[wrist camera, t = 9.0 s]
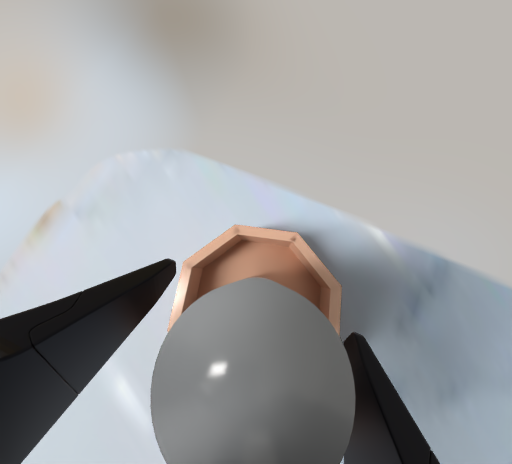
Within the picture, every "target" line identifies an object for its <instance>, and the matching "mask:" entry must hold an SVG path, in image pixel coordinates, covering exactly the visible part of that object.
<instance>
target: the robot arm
mask: <svg viewBox="0 0 512 464" xmlns="http://www.w3.org/2000/svg"><path fill="white" fill-rule="evenodd" d="M175 274H176V262H175V261H174V260H171V259H164V260H162V261H159V262H157V263H154V264H151V265H149V266H146V267H144V268H141V269H138V270H136V271H133V272H130V273H128V274H125V275H123V276H120V277H117V278H115V279H112V280H110V281H107V282H104V283H102V284H99V285H97V286H94V287H91V288H89V289H86V290H84V291H81V292H78V293H76V294H73V295H70V296H68V297H65V298H62V299H59V300H57V301H54V302H51V303H48V304H45V305H42V306H39V307H36V308H33V309H30V310H27V311H24V312H21V313H17V314H14V315H11V316H8V317H5V318H2V319H0V464H21V463H22V461H23V460H24V459H25V458H26V457H27V456H28V454H29V453H30V452H31V451H32V450H33V448H34V447H35V446H36V445H37V444H38V442H39V441H40V440H41V439H42V438H43V437H44V435H45V434H46V433H47V432H48V431H49V429H50V428H51V427H52V426H53V425H54V424H55V422H56V421H57V420H58V419H59V418H60V416H61V415H62V414H63V413H64V412H65V411H66V409H67V408H68V407H69V406H70V405H71V403H72V402H73V401H74V400H75V399H76V397H77V396H78V394H80V393H81V391H82V390H83V389H84V388H85V387H86V385H87V384H88V383H89V382H90V381H91V380H92V378H93V377H94V376H95V375H96V374H97V372H98V371H99V370H100V369H101V368H102V366H103V365H104V364H105V363H106V362H107V361H108V359H109V358H110V357H111V356H112V355H113V353H114V352H115V351H116V350H117V349H118V348H119V346H120V345H121V344H122V343H123V342H124V340H125V339H126V338H127V337H128V336H129V334H130V333H131V332H132V331H133V330H134V329H135V327H136V326H137V325H138V324H139V323H140V321H141V320H142V319H143V318H144V317H145V316H146V314H147V313H148V312H149V311H150V310H151V308H152V307H153V306H154V305H155V304H156V302H157V301H158V300H159V298H160V297H161V295H162V294H163V292H164V291H165V290H166V288H167V287H168V285H169V284H170V282H171V281H172V279H173V278H174V276H175ZM343 345H344V347H345V350H346V352H347V355H348V358H349V361H350V364H351V368H352V373H353V378H354V386H355V416H354V422H353V429H352V433H351V436H350V440H349V444H348V446H347V449H346V451H345V454H344V464H440V463H439V461H438V460H437V458H436V456H435V455H434V453H433V451H431V449H430V446H429V445H428V443H427V441H426V440H425V438H424V436H423V435H422V433H421V431H420V430H419V428H418V426H417V425H416V423H415V421H414V420H413V418H412V416H411V415H410V413H409V411H408V410H407V408H406V406H405V405H404V403H403V401H402V400H401V398H400V396H399V395H398V393H397V391H396V390H395V388H394V386H393V385H392V383H391V381H390V379H389V378H388V376H387V374H386V373H385V371H384V369H383V368H382V366H381V364H380V363H379V361H378V359H377V358H376V356H375V354H374V353H373V351H372V349H371V348H370V346H369V344H368V343H367V341H366V339H365V338H364V337H363V336H362V335H360V334H358V333H355V332H353V333H351V334H350V335H349V337H348V338H347V339H346V340H345V341H344V344H343Z"/></svg>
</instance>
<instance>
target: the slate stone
mask: <svg viewBox="0 0 512 464" xmlns="http://www.w3.org/2000/svg"><path fill="white" fill-rule="evenodd" d="M151 414H152V423H153V427H154V432H155V436H156V439H157V442H158V445H159V448H160V451H161V453H162V455H163V457H164V459H165V461H166V463H167V464H340V462H341V460H342V458H343V456H344V454H345V451H346V449H347V446H348V444H349V440H350V436H351V433H352V429H353V422H354V416H355V386H354V378H353V373H352V368H351V364H350V361H349V358H348V355H347V352H346V350H345V347H344V345H343V343H342V341H341V338H340V337H339V335H338V333H337V332H336V330H335V328H334V327H333V325H332V324H331V323H330V321H329V320H328V319H327V317H326V316H325V315H324V314H323V313H322V312H321V311H320V310H319V309H318V308H317V307H316V306H315V305H314V304H313V303H311V302H310V301H309V300H308V299H306V298H305V297H303V296H302V295H300V294H298V293H297V292H295V291H293V290H291V289H289V288H287V287H285V286H283V285H281V284H279V283H277V282H274V281H272V280H270V279H268V278H266V277H262V276H252V277H248V278H245V279H242V280H239V281H236V282H233V283H230V284H227V285H224V286H222V287H219V288H217V289H214V290H212V291H210V292H209V293H207V294H205V295H203V296H202V297H200V298H199V299H198V300H196V301H195V302H194V303H192V304H191V305H190V306H189V307H188V308H187V309H186V310H185V311H184V312H183V313H182V314H181V316H180V317H179V318H178V319H177V320H176V322H175V323H174V324H173V326H172V328H171V329H170V331H169V332H168V334H167V336H166V338H165V340H164V342H163V344H162V346H161V348H160V351H159V354H158V357H157V359H156V363H155V367H154V371H153V376H152V384H151Z"/></svg>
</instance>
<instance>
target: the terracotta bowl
mask: <svg viewBox="0 0 512 464" xmlns="http://www.w3.org/2000/svg"><path fill="white" fill-rule="evenodd" d="M252 276H262V277H266V278H268V279H270V280H272V281H274V282H277V283H279V284H281V285H283V286H285V287H287V288H289V289H291V290H293V291H295V292H297V293H298V294H300V295H302V296H303V297H305V298H306V299H308V300H309V301H310V302H311V303H313V304H314V305H315V306H316V307H317V308H318V309H319V310H320V311H321V312H322V313H323V314H324V315H325V316H326V317H327V319H328V320H329V321H330V323H331V324H332V325H333V327H334V328H335V330H336V332H337V333H338V335H339V333H340V312H341V291H342V286H341V285H340V283H339V282H338V281H337V280H336V279H335V277H334V276H333V275H332V274H331V273H330V271H329V270H328V269H327V268H326V267H325V265H324V264H323V263H322V262H321V261H320V259H319V258H318V257H317V256H316V254H315V253H314V252H313V251H312V250H311V248H310V247H309V246H308V245H307V244H306V242H305V241H304V240H303V239H302V238H301V236H300V235H299V234H298V233H296V232H288V231H281V230H273V229H265V228H258V227H250V226H242V225H234V226H232V227H231V228H230V229H228V230H227V231H225V232H224V233H223V234H221V235H220V236H219V237H217V238H216V239H214V240H213V241H212V242H210V243H209V244H207V245H206V246H205V247H203V248H202V249H200V250H199V251H198V252H196V253H195V254H194V255H192V256H191V257H189V258H188V259H187V260H185V261H184V262H183V265H182V269H181V274H180V278H179V282H178V287H177V291H176V295H175V300H174V304H173V308H172V312H171V317H170V321H169V325H168V330H167V331H168V332H169V331H170V329H171V328H172V326H173V324H174V323H175V322H176V320H177V319H178V318H179V317H180V316H181V314H182V313H183V312H184V311H185V310H186V309H187V308H188V307H189V306H190V305H191V304H192V303H194V302H195V301H196V300H198V299H199V298H200V297H202V296H203V295H205V294H207V293H209V292H210V291H212V290H214V289H217V288H219V287H222V286H224V285H227V284H230V283H233V282H236V281H239V280H242V279H245V278H248V277H252Z"/></svg>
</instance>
